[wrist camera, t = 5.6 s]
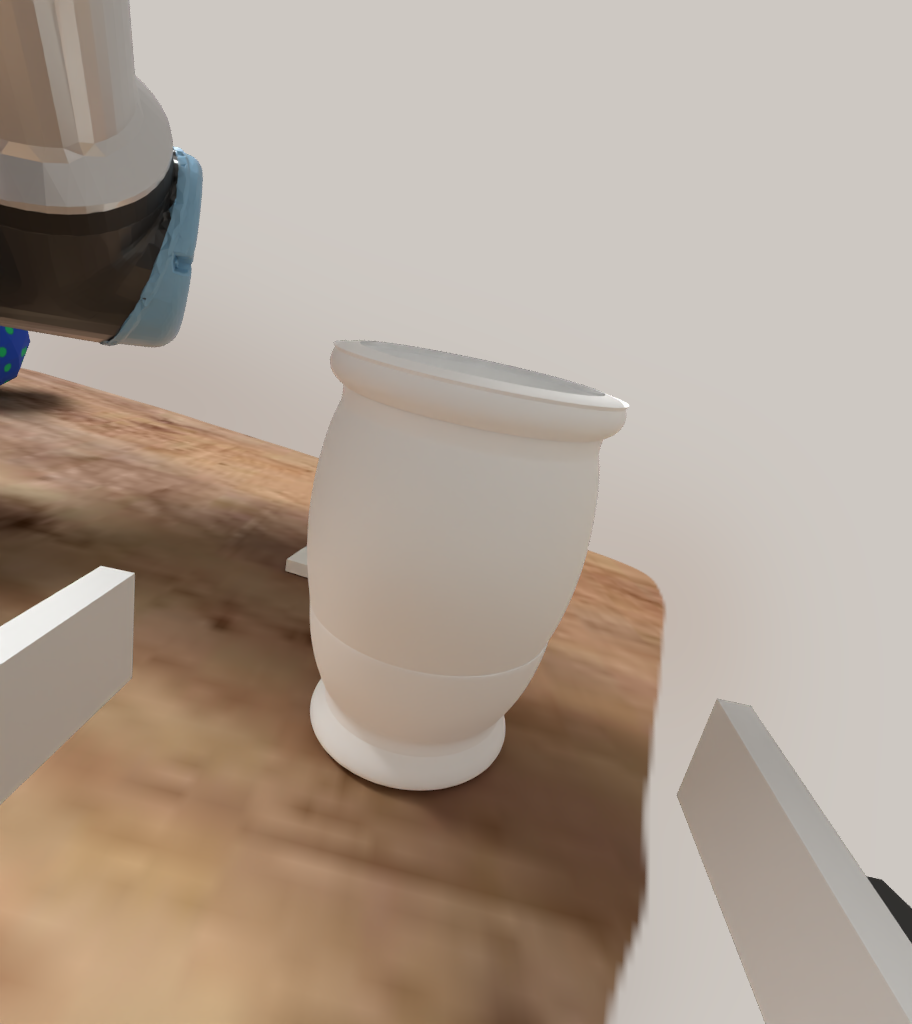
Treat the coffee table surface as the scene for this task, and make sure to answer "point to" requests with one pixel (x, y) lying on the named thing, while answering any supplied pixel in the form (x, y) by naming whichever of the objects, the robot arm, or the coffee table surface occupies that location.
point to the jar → (442, 552)
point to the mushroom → (12, 351)
